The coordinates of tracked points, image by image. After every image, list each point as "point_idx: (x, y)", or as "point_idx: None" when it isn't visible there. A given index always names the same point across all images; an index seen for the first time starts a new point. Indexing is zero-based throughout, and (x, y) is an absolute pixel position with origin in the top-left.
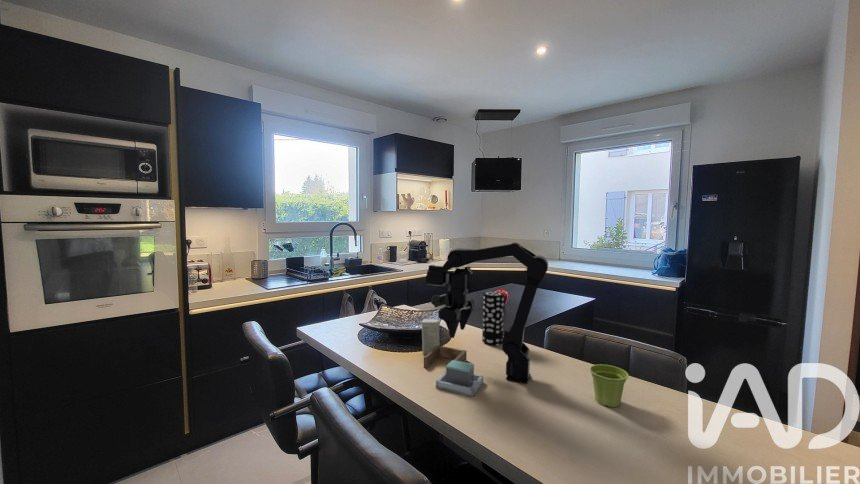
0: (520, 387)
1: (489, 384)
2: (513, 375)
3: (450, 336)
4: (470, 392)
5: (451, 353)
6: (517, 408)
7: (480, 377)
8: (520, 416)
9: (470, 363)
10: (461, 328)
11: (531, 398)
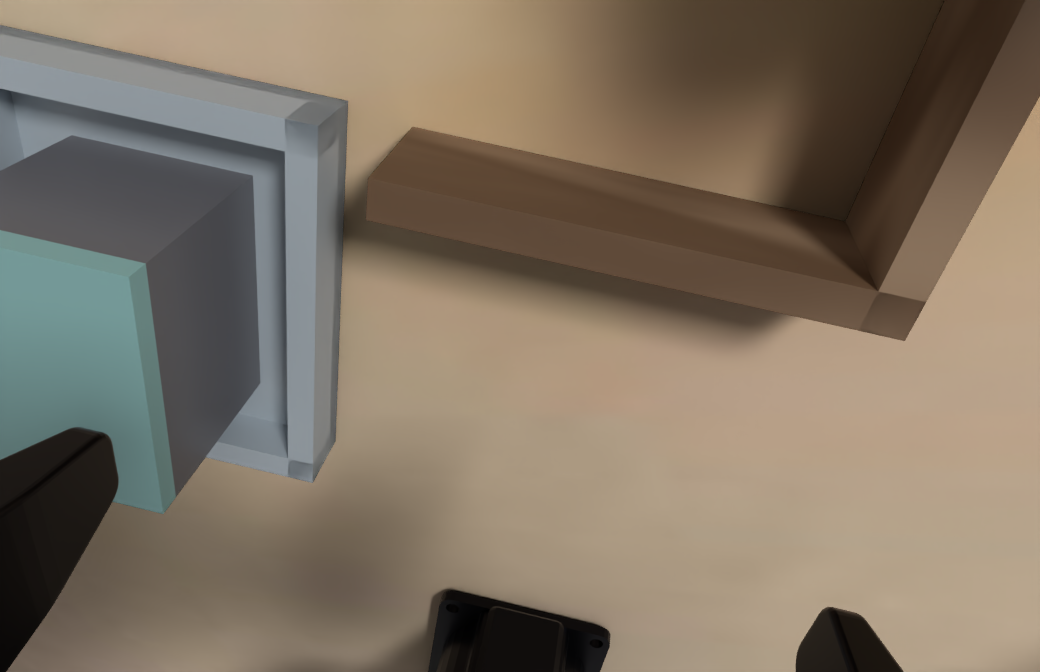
0: (367, 643)
1: (320, 481)
2: (443, 660)
3: (54, 442)
4: None
5: (954, 62)
6: (96, 598)
7: (267, 462)
8: None
9: (153, 483)
10: (819, 645)
11: (251, 669)
